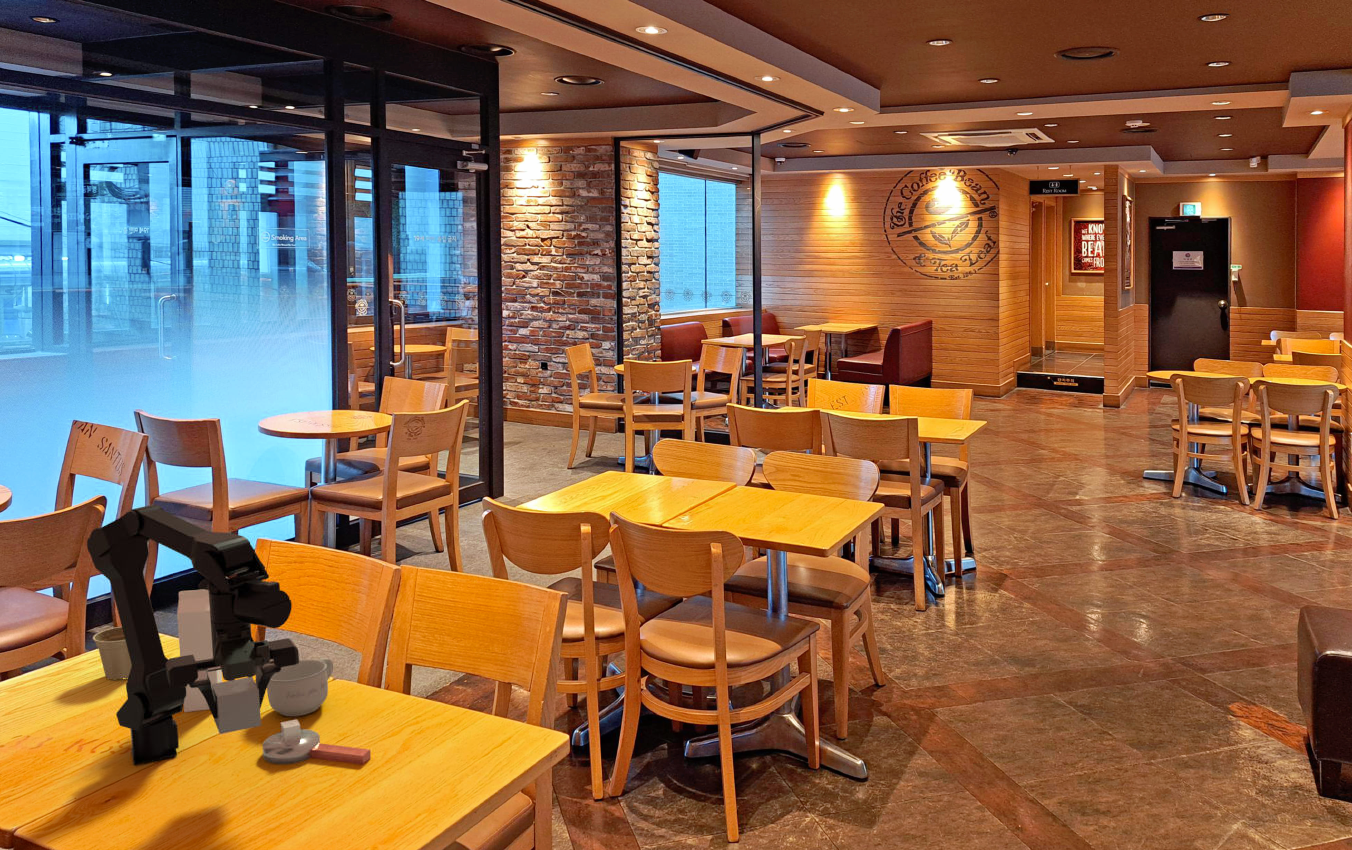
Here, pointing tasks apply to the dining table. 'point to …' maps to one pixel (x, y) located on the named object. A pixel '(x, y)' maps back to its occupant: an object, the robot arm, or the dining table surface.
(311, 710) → the teacup
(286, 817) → the dining table surface
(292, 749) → the pan with red handle
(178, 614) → the milk
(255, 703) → the matte grey cube
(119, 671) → the flower pot
